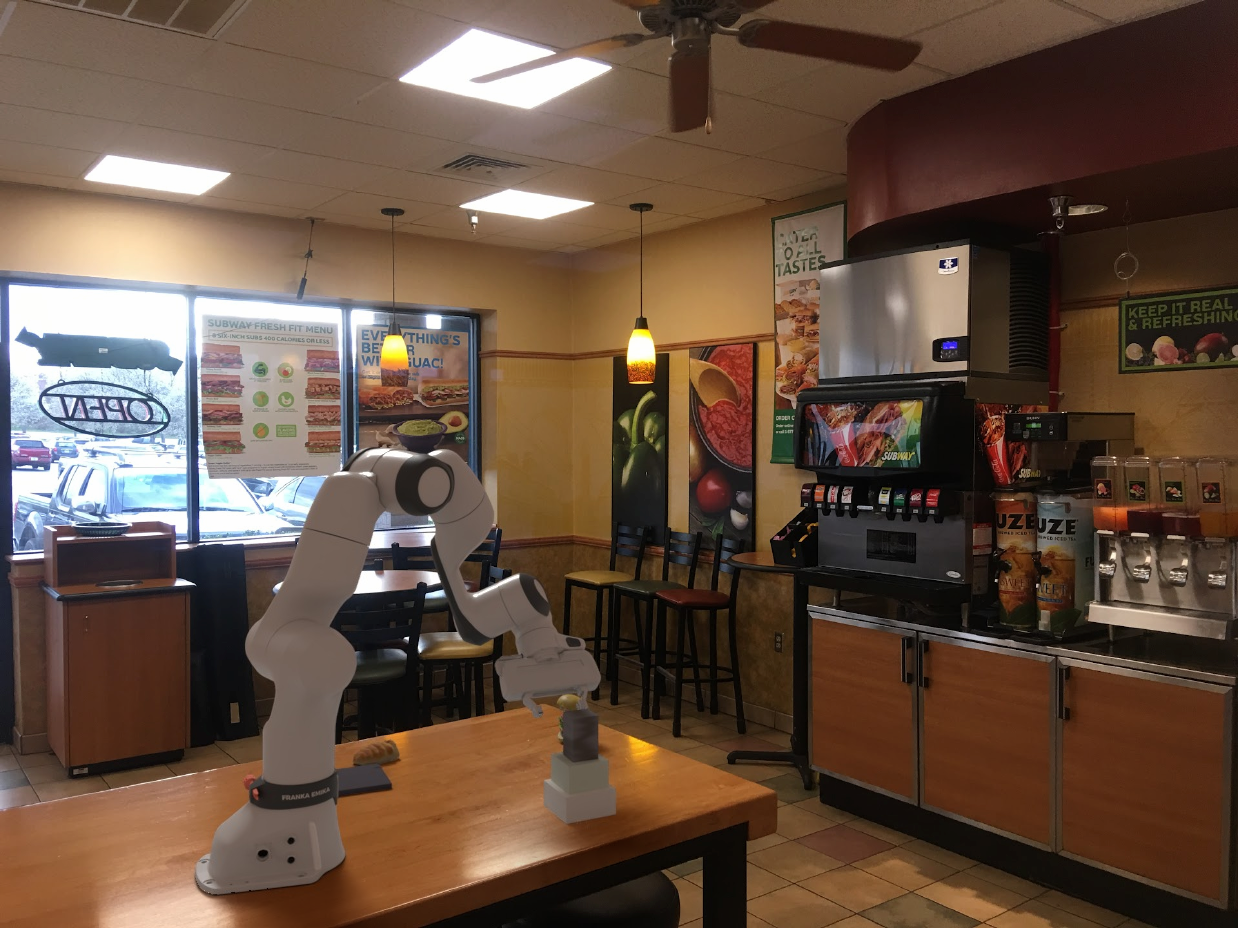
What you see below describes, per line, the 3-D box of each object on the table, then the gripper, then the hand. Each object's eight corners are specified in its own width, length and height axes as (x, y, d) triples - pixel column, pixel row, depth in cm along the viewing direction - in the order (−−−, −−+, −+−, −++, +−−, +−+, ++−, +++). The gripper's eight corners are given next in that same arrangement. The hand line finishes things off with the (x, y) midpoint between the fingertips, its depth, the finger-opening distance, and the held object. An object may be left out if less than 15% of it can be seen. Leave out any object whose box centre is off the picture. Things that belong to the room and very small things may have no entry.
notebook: (276, 807, 181) (392, 790, 190) (276, 799, 181) (392, 782, 190) (269, 785, 192) (379, 770, 201) (269, 777, 192) (379, 763, 201)
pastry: (363, 770, 200) (363, 752, 200) (345, 763, 205) (345, 745, 205) (402, 759, 207) (402, 741, 207) (384, 752, 212) (384, 735, 212)
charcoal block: (572, 762, 177) (572, 718, 177) (563, 754, 181) (563, 711, 181) (598, 758, 179) (598, 715, 179) (588, 750, 184) (588, 708, 183)
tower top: (568, 794, 175) (569, 766, 175) (550, 780, 182) (551, 753, 182) (608, 787, 179) (608, 760, 178) (589, 773, 186) (589, 747, 185)
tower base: (566, 825, 173) (566, 797, 173) (543, 806, 182) (543, 779, 182) (615, 815, 178) (616, 788, 178) (591, 797, 187) (591, 771, 187)
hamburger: (551, 737, 222) (552, 685, 222) (581, 734, 225) (581, 682, 225) (563, 747, 215) (563, 693, 215) (593, 744, 218) (594, 690, 218)
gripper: (496, 648, 189) (515, 711, 181) (591, 638, 199) (613, 697, 190) (488, 666, 193) (506, 728, 185) (581, 655, 203) (602, 714, 195)
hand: (561, 712), depth 188 cm, fingers open, 8 cm apart
